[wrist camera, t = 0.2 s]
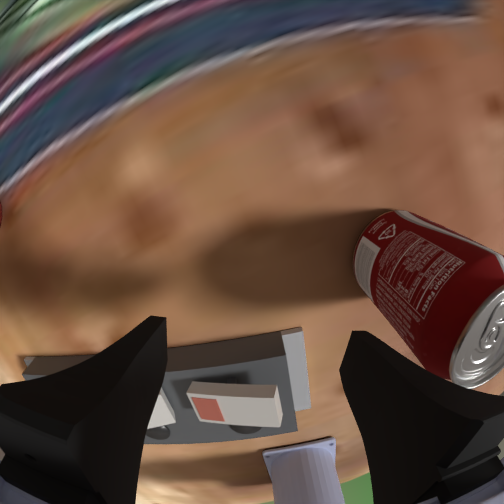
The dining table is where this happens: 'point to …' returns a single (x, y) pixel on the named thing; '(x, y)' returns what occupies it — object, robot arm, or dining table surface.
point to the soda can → (436, 294)
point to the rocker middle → (162, 412)
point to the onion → (0, 213)
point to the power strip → (218, 371)
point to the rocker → (236, 404)
